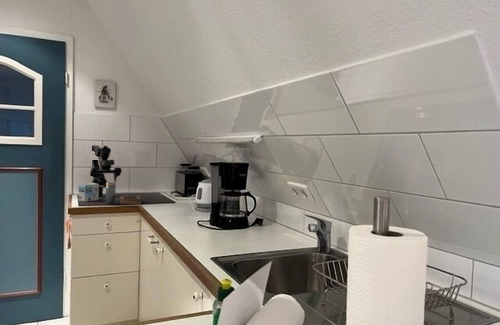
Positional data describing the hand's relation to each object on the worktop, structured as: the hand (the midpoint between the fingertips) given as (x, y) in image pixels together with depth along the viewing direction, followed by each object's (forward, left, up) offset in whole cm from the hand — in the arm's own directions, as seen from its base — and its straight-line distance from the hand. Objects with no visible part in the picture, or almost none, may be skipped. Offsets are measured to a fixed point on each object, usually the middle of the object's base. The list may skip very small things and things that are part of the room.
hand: (108, 182), depth 244 cm
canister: (+7, +1, -13) cm, 15 cm away
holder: (+3, +13, -13) cm, 19 cm away
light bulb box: (-9, -12, -13) cm, 20 cm away
